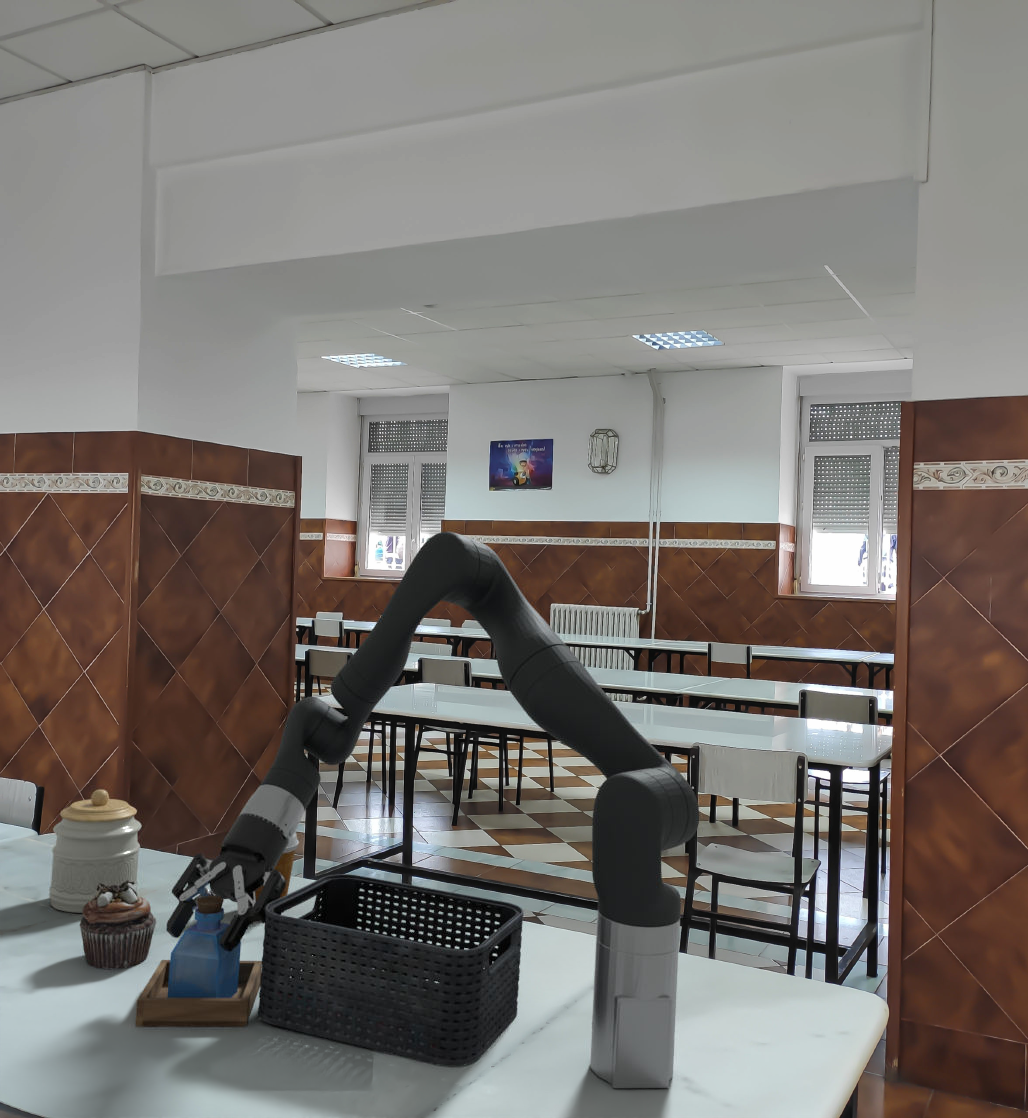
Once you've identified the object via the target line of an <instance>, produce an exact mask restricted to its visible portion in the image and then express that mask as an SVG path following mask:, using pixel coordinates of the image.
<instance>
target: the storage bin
mask: <svg viewBox="0 0 1028 1118" xmlns="http://www.w3.org/2000/svg"><path fill="white" fill-rule="evenodd" d="M379 893H380V894H379ZM395 896H397V897H395ZM314 897H315V899H314V904H313V908H312V909H311V910H310V911H309V912H307V913H305V914H303V915H301V916H299V917H292V916H287V915H282V914H283V913H284V912H285V911H289V910H290V909H292V908H294V907H296V906H298V905H301V904H303V903H304V902H307V901H309V900H311V899H313V898H314ZM361 897H363V898H361ZM405 898H407V899H405ZM370 899H371V900H370ZM422 901H424V902H422ZM386 902H387V903H386ZM388 902H389V903H388ZM433 903H434V904H433ZM442 905H443V906H442ZM370 906H371V907H370ZM450 906H451V907H450ZM414 907H415V908H414ZM377 908H379V909H377ZM460 908H461V909H460ZM423 909H424V910H423ZM387 910H388V911H387ZM440 912H441V913H440ZM265 913H266V921H265V923H264V929H263V930H264V937H263V942H262V948H263V950H262V956H261V961H262V970H261V976H260V980H261V985H260V988H259V991H258V994H259V995H258V998H259V1001H258V1002H259V1003H258V1008H257V1009H258V1010H257V1016H258V1018H259V1020H261V1021H263V1022H265V1023H267V1024H270V1025H274V1026H275V1027H279V1028H283V1029H287V1030H292V1031H295V1032H300V1033H303V1034H307V1035H312V1036H316V1037H320V1038H324V1039H328V1040H332V1041H336V1042H341V1043H345V1044H349V1045H353V1046H357V1047H360V1048H366V1049H370V1050H374V1051H378V1052H382V1053H385V1054H389V1055H393V1056H398V1057H401V1058H402V1057H403V1058H406V1059H410V1060H414V1061H419V1062H422V1063H427V1064H431V1065H435V1066H436V1065H439V1066H444V1067H461V1066H466V1065H470V1064H472V1063H474V1062H476V1061H478V1060H479V1059H480V1057H481V1056H483V1054H484V1053H485V1052H486V1051H487V1050H488V1048H489V1047H490V1046H491V1045H492V1044H493V1043H494V1042H495V1040H497V1039H498V1037H499V1036H501V1034H502V1033H503V1032H504V1031H505V1030H506V1029H507V1028H508V1026H509V1025H510V1024H511V1023H512V1022H513V1020H514V1019H515V1018H516V1017H517V1015H518V1003H519V1002H518V998H519V989H520V985H519V981H520V971H521V970H520V965H521V955H522V954H521V948H522V942H523V941H522V940H523V939H522V933H523V922H524V921H523V918H524V909H523V907H521V906H520V905H517V904H514V903H512V902H507V901H504V900H503V901H501V900H497V899H492V898H486V897H481V896H474V895H469V894H463V893H457V892H451V891H447V890H446V891H445V890H440V889H436V888H429V887H424V886H418V885H413V884H407V883H402V882H396V881H391V880H385V879H379V878H375V877H369V876H368V877H367V876H362V875H358V874H349V873H346V874H345V873H339V874H337V873H336V874H330V875H326V876H323V877H321V878H318V879H317V880H315V881H313V882H311V883H309V884H307V885H305V886H303V887H300V888H298V889H297V890H295V891H293V892H290V893H288V894H287V895H286V896H284V897H282V898H279V899H277V900H275V901H273V902H271V903H269V904H268V905H267V906H266V910H265ZM403 913H405V914H403ZM488 913H489V914H488ZM449 914H451V915H449ZM412 915H414V916H412ZM498 915H499V916H498ZM378 916H379V917H378ZM460 916H461V917H460ZM422 917H423V918H422ZM430 918H431V919H430ZM477 919H479V920H477ZM440 920H441V921H440ZM402 921H403V922H402ZM488 921H489V922H488ZM449 922H450V923H449ZM496 922H497V923H496ZM459 924H460V925H459ZM386 925H387V926H386ZM467 925H469V926H467ZM394 927H395V928H394ZM478 927H479V928H478ZM439 928H440V929H439ZM486 928H487V929H489V930H486ZM449 930H451V931H449ZM468 933H469V934H468ZM477 935H478V936H477ZM440 936H441V937H440ZM411 938H412V939H411ZM419 940H420V941H419ZM466 941H468V942H466ZM430 942H431V943H430ZM456 947H457V948H456ZM494 954H495V955H494Z"/></svg>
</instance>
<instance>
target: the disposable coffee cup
mask: <svg viewBox="0 0 1028 1118" xmlns="http://www.w3.org/2000/svg"><path fill="white" fill-rule="evenodd" d="M297 835H298V834H297V832H295V833H294V835H293V836H292V838H291V840H290V842H289V843H288V845H287V847H286V849H285V850H284V852H283V854H282V856H281V858H280V859H279V861H278V863H277V865H276V866H275V868H274V870H278V871H279V872H280V873H281V875H282V876H283V877H284V879H285V880H286V882H287V884H286V886H285V888H284V890H283V892H282V894H281V896H280V898H282V897H284V896H286V895H288V894H289V893H288V892H289V887H290V881H291V877H292V870H293V865H294V859H295V855H296V850H297V848H298V846H299V844H300V841H299V840H298V836H297ZM270 873H271V872H270ZM263 887H264V885H263V886H261V887H260V888H259V889H257V890H256V891H255V901H256V900H257V898H258V896H259V895H260V893H261V891H262V889H263Z"/></svg>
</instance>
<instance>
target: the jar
mask: <svg viewBox="0 0 1028 1118" xmlns="http://www.w3.org/2000/svg"><path fill="white" fill-rule="evenodd" d="M137 812H138V810H137V808H135V807H133V806H131V805H130V804H129V803H128V802H127V801H125V800H121V799H115V798H114V799H113V798H112V799H111V798H110V795H109V793H108V791H107V790H105V789H102V788H101V789H96V790H95V791H93V792H92V794H91V796H90V799H83V800H79V801H75V802H73V803H72V804H71V805H70V806H68V807H66V808H64V809H63V810H61V811H60V813H59V814H60V816H61V818H62V820H61V821H60V822H58V823H57V824H55V825H54V827H53V829H52V830H53V832H54V834H55V835H56V840H55V845H54V846H53V847H52V849H51V852H52V862H51V863H52V864H51V865H52V866H51V867H52V868H51V877H50V879H51V881H50V887H49V893H48V897H49V900H50V905H51V907H52V908H54V909H55V910H59V911H60V912H61V911H63V912H67V913H74V914H76V913H77V914H83V912H82V911H83V908H84V906H85V905H86V904H87V903H88V902H89V901H90V900H91V899H94V898H95V897H94V893H95V890H96V889H97V888H98V887H97V886H98V885H99V884H104V885H107V886H110V887H111V886H112V885H118V886H120V885H121V884H122V883H124V882H126V881H127V880H129V881H130V882H133V881H134V883H135V884H134V885H135V886H136V888H137V889H138V885H139V884H138V865H139V851H140V850H141V849H140V848H141V845H140V843H139V842H138V832H139V831H140V830H141V829H142V824H141V822H140V821H138V820H137V819H135V815H136V814H137ZM137 892H138V890H137V891H136V893H137ZM137 894H138V893H137Z"/></svg>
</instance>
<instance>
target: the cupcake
mask: <svg viewBox="0 0 1028 1118" xmlns="http://www.w3.org/2000/svg"><path fill="white" fill-rule="evenodd" d="M134 884H135V883H134V881H133V882H130V881H129V880H127V881H126V882H124V883H122V884H121V885H120V886H118V885H112V886H111V887H110V886H107V885H104V884H99V885H98V886H97V887H98V888H97V889H96V890H95V893H94V897H95V898H94V899H91V900H90V901H89V902H88V903H87V904H86V905H85V906H84V908H83V911H82V912H83V913H82V917H81V920H80V921H79V922H80V923H79V928H80V934H81V939H82V947H83V953H84V954H83V955H84V958H85V960H86V964H87V965H88V966H89V967H93V968H96V969H102V970H118V969H125V968H132V967H134V966H137V965H139V964H141V963H143V962H145V961H146V960H147V959H148V956H149V953H150V949H151V948H150V947H151V944H152V943H151V942H152V940H153V935H154V932H155V928H156V924H157V918H156V917H155V916H154V914H153V913H152V912H151V905H150V901H148V900H147V899H146V897H145V898H144V897H142V896H139V895H138V893H136V891H137V892H138V887H137V888H136V886H135V885H134Z"/></svg>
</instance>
